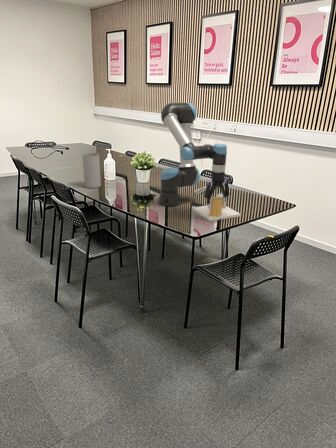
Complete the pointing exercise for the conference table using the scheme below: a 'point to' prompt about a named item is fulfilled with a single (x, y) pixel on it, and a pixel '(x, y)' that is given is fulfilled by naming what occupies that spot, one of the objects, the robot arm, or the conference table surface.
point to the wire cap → (216, 207)
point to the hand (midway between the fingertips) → (216, 207)
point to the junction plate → (226, 214)
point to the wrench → (201, 190)
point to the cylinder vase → (91, 170)
